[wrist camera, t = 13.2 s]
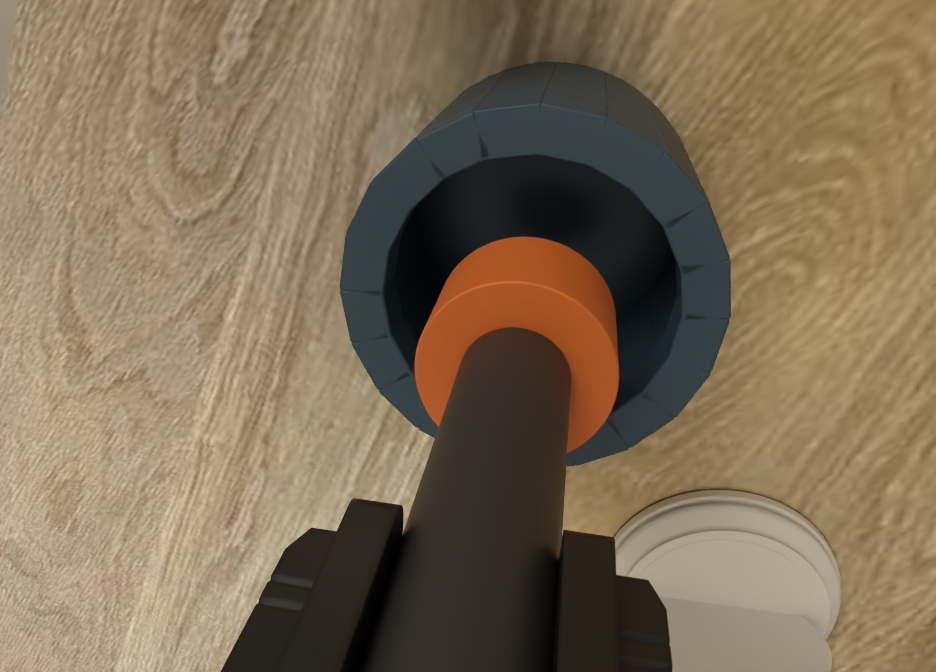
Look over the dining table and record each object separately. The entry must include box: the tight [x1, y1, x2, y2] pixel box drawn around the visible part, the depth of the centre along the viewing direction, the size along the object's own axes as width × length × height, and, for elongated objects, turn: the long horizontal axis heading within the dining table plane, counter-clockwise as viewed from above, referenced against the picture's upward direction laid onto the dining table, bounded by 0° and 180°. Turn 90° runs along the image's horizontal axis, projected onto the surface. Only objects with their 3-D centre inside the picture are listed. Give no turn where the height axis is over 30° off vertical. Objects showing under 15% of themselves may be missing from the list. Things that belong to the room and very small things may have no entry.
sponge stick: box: [357, 237, 619, 672], centre depth 14 cm, size 4×4×14 cm
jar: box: [340, 62, 731, 466], centre depth 25 cm, size 10×10×9 cm
